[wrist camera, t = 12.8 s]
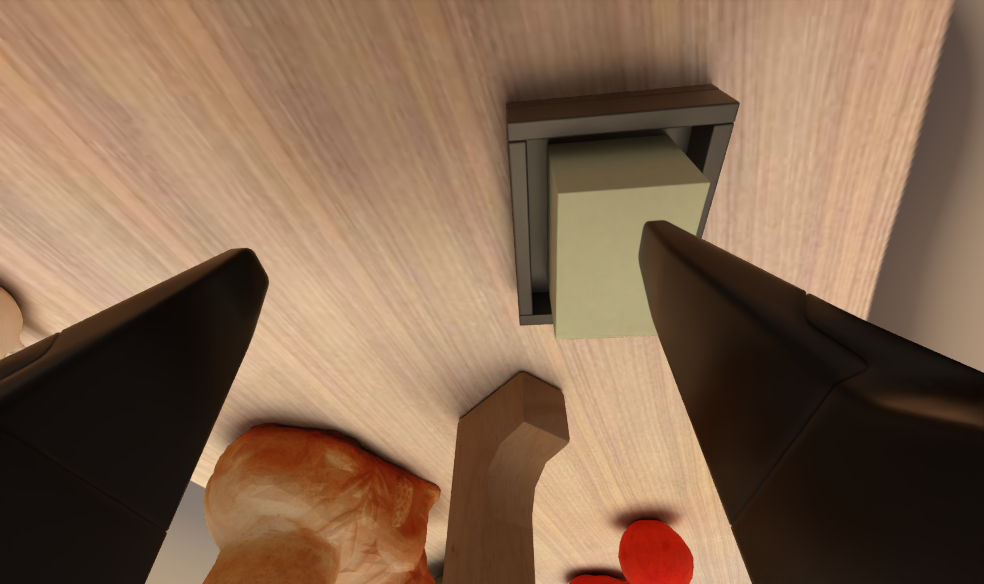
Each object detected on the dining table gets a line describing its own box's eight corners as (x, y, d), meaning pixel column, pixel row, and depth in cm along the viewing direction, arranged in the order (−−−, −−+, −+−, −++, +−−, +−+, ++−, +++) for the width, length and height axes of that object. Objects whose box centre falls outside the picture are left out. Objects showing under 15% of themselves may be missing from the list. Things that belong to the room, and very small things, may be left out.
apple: (669, 502, 45) (693, 581, 40) (688, 526, 49) (712, 601, 44) (602, 516, 48) (615, 592, 42) (625, 538, 52) (640, 609, 47)
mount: (505, 102, 18) (506, 122, 16) (712, 83, 18) (741, 102, 16) (518, 294, 26) (519, 326, 24) (664, 286, 25) (679, 318, 23)
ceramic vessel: (400, 530, 52) (371, 693, 41) (203, 444, 39) (79, 649, 28) (483, 504, 47) (477, 685, 35) (286, 394, 33) (173, 625, 22)
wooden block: (521, 368, 31) (536, 709, 17) (565, 390, 32) (610, 717, 19) (456, 420, 35) (425, 718, 22) (497, 437, 37) (493, 724, 23)
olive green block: (546, 143, 19) (557, 193, 15) (668, 134, 18) (711, 182, 15) (547, 278, 24) (555, 340, 20) (642, 273, 24) (669, 335, 20)
